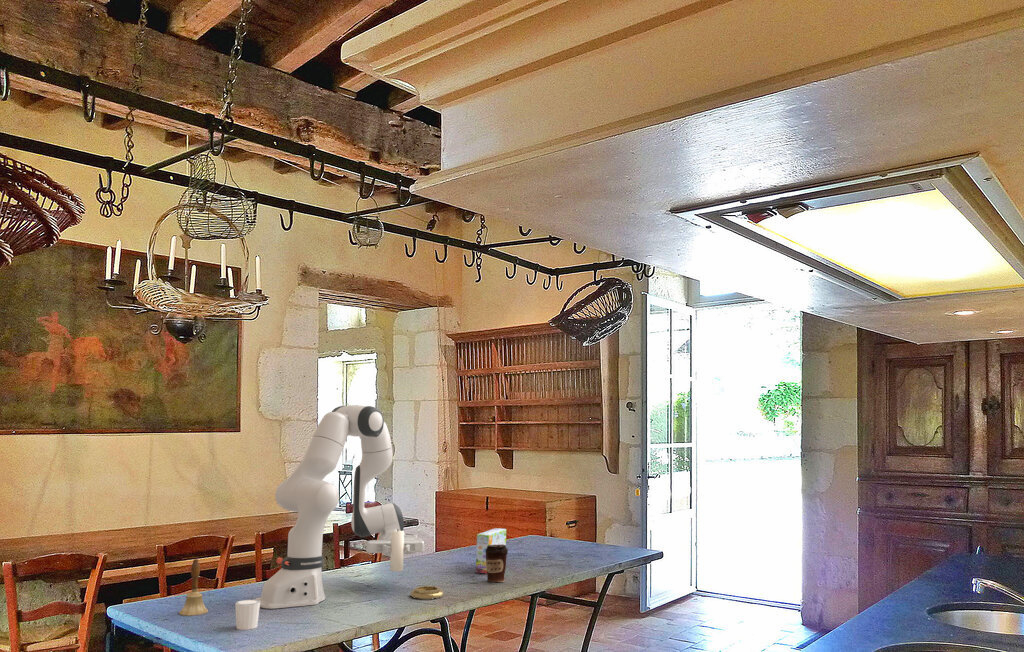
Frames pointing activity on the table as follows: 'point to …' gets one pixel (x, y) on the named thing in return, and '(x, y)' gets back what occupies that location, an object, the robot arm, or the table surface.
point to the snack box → (485, 539)
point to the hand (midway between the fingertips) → (397, 549)
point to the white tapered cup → (247, 614)
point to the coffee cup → (496, 562)
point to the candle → (397, 550)
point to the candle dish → (427, 592)
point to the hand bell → (194, 595)
